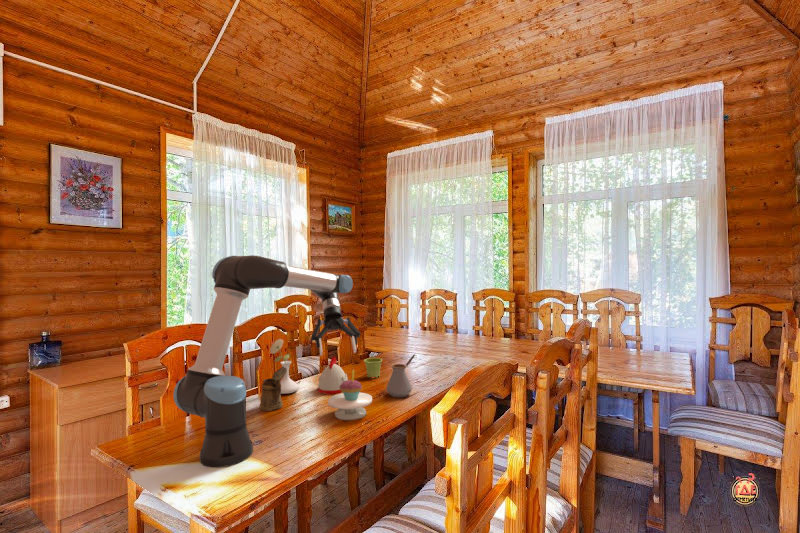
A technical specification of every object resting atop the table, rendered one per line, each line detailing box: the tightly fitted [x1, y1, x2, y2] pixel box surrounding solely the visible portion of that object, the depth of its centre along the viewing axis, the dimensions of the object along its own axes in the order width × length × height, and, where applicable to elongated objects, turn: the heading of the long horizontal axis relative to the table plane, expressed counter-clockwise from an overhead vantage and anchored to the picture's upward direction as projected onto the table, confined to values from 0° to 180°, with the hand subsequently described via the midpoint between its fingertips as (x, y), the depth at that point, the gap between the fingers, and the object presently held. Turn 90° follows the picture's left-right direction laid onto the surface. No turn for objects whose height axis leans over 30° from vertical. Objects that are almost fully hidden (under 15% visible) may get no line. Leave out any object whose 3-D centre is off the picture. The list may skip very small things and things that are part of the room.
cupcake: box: [340, 368, 363, 401], centre depth 160 cm, size 9×8×12 cm
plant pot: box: [363, 357, 383, 378], centre depth 213 cm, size 9×9×9 cm
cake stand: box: [327, 391, 373, 421], centre depth 160 cm, size 17×17×6 cm
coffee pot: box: [386, 354, 416, 398], centre depth 187 cm, size 21×12×15 cm, turn 149°
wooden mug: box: [258, 366, 287, 412], centre depth 168 cm, size 9×14×18 cm, turn 50°
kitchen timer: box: [317, 356, 349, 395], centre depth 193 cm, size 14×14×15 cm
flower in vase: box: [269, 338, 300, 395], centre depth 189 cm, size 13×11×25 cm
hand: (338, 352), depth 166 cm, fingers open, 13 cm apart
